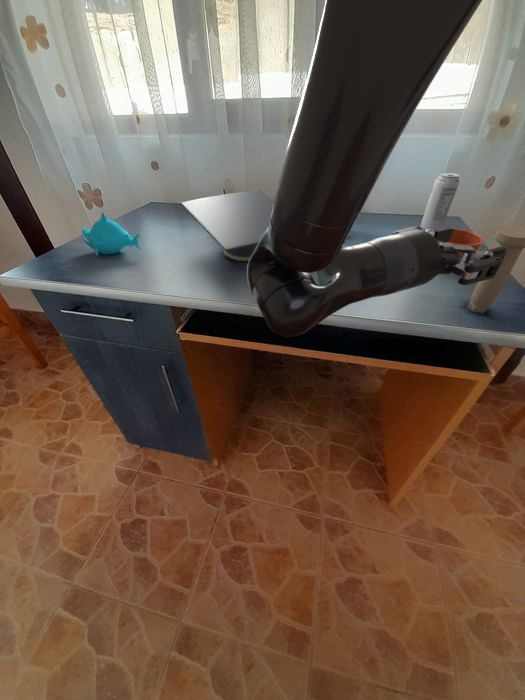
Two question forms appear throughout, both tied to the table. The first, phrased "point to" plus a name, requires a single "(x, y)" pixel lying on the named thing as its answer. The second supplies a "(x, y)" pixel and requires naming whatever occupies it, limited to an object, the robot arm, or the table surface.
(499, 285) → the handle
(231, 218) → the graduation cap
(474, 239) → the holder
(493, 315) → the table surface
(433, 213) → the energy drink can
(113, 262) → the table surface
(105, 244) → the toy shark
